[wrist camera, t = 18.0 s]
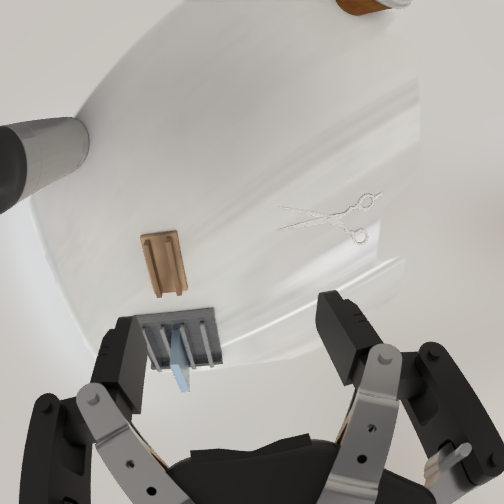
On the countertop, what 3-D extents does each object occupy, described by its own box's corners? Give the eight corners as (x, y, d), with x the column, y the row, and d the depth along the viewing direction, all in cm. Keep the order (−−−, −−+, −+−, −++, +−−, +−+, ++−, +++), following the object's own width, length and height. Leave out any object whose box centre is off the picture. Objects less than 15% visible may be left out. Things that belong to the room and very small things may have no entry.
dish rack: (152, 361, 56) (151, 374, 52) (133, 315, 49) (129, 329, 46) (221, 355, 58) (223, 368, 54) (213, 307, 51) (214, 321, 48)
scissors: (373, 244, 50) (275, 248, 47) (371, 242, 51) (274, 246, 48) (383, 192, 45) (279, 187, 42) (381, 191, 46) (278, 186, 43)
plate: (181, 359, 55) (181, 392, 47) (172, 330, 51) (169, 364, 43) (189, 358, 55) (189, 391, 48) (180, 329, 51) (178, 364, 43)
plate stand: (155, 290, 47) (153, 300, 45) (141, 235, 42) (137, 243, 40) (187, 287, 48) (186, 297, 45) (176, 230, 43) (174, 238, 40)
